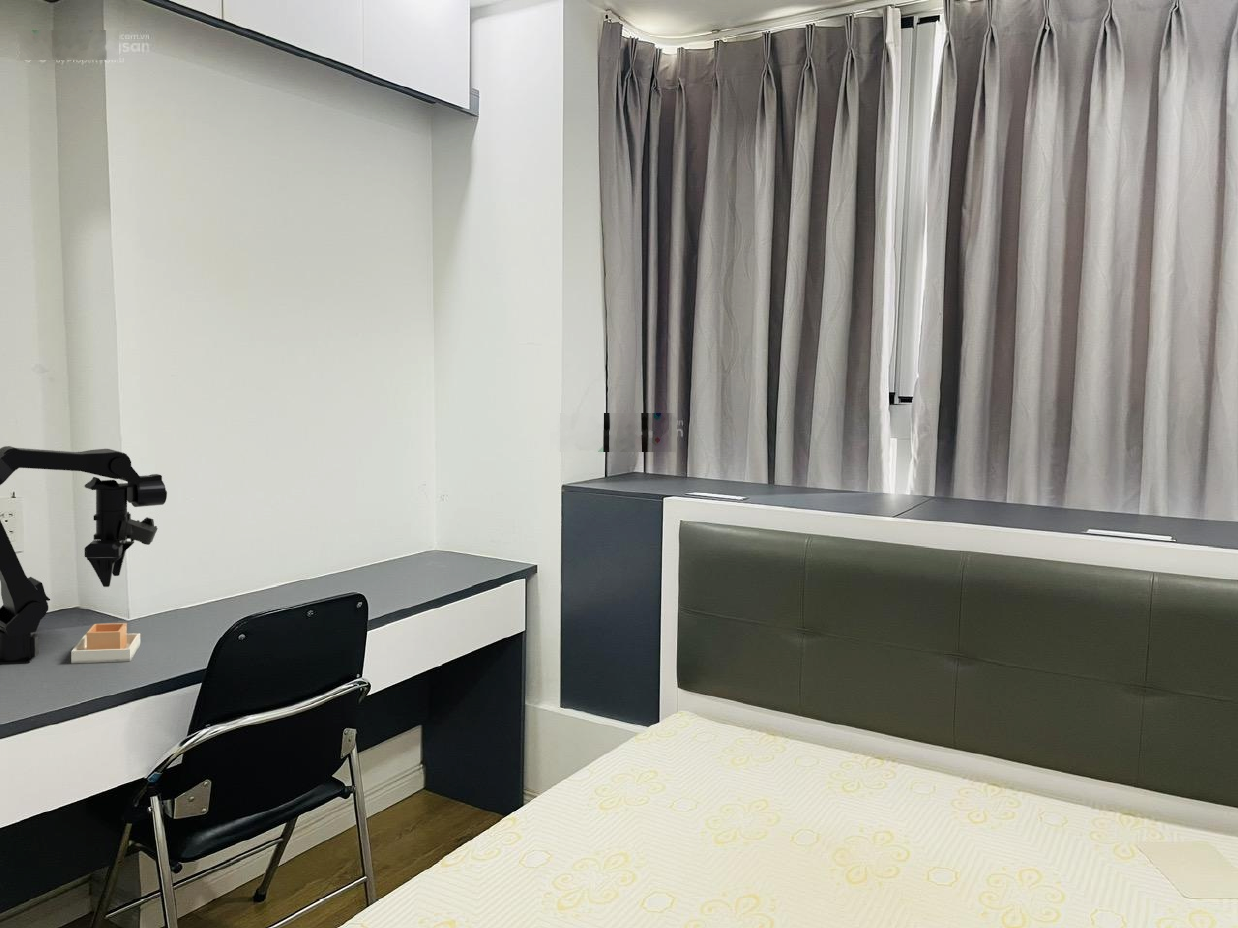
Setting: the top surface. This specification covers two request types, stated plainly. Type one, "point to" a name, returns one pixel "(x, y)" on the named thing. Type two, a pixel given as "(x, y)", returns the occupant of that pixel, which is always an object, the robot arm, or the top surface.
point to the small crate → (107, 636)
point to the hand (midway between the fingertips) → (111, 581)
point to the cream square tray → (105, 652)
